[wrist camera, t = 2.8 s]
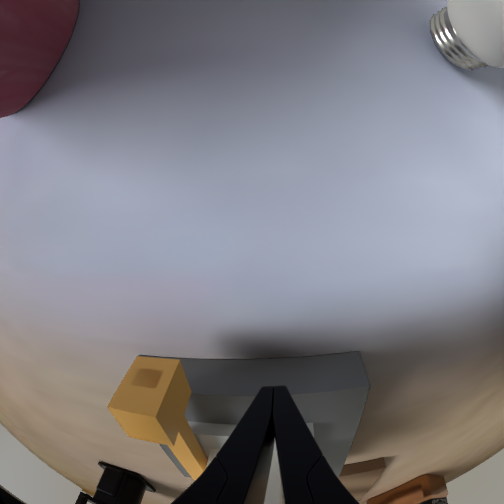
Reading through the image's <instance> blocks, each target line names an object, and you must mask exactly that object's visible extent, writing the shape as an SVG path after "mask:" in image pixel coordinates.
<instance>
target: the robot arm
mask: <svg viewBox="0 0 504 504" xmlns="http://www.w3.org/2000/svg"><path fill="white" fill-rule="evenodd" d="M275 442H276V450H277V457H278V464H279V472H280V479H281V486H282V493H283V501H284V504H359V503H358V501H357V500H356V499H355V498H354V497H353V496H352V495H351V493H350V492H349V491H348V490H347V489H346V487H345V486H344V485H343V484H342V482H341V481H340V480H339V479H338V477H337V476H336V475H335V473H334V471H333V470H332V468H331V467H330V465H329V463H328V462H327V460H326V458H325V456H323V453H322V451H321V450H320V448H319V446H318V444H317V442H316V441H315V439H314V437H313V435H312V433H311V431H310V430H309V428H308V426H307V424H306V422H305V420H304V419H303V417H302V415H301V413H300V411H299V409H298V407H297V406H296V404H295V402H294V400H293V398H292V396H291V394H290V392H289V390H288V389H287V387H286V386H285V385H279V386H274V387H273V386H262V387H261V388H260V390H259V391H258V393H257V395H256V396H255V398H254V399H253V401H252V403H251V404H250V406H249V407H248V409H247V410H246V412H245V413H244V415H243V417H242V418H241V420H240V421H239V423H238V424H237V426H236V427H235V429H234V430H233V432H232V433H231V434H230V436H229V437H228V439H227V440H226V442H225V443H224V445H223V446H222V447H221V449H220V450H219V452H218V453H217V454H216V457H214V458H213V460H212V461H211V463H210V464H209V465H208V467H207V468H206V469H205V470H204V471H203V473H202V474H201V475H200V476H199V477H198V478H197V479H196V480H195V481H194V482H193V483H192V484H191V485H190V486H189V487H188V488H187V489H186V490H185V491H184V492H183V493H182V494H181V495H180V496H179V497H178V498H177V499H175V500H174V501H173V502H172V503H171V504H264V500H265V495H266V490H267V484H268V479H269V473H270V468H271V462H272V456H273V450H274V443H275ZM98 465H100V466H101V467H102V468H103V469H104V472H103V474H102V476H101V479H100V481H99V483H98V485H97V490H96V492H95V495H94V497H91V496H90V495H88V494H84V493H83V492H80V495H79V497H78V499H77V501H76V503H75V504H86V503H87V501H88V502H90V503H92V504H141V501H142V498H143V495H144V493H145V490H147V491H150V492H155V491H156V490H155V489H154V488H153V487H152V486H150V485H149V484H148V483H147V482H146V481H145V480H144V479H143V478H142V477H140V476H139V475H138V474H135V473H132V472H129V471H126V470H123V469H119V468H116V467H114V466H111V465H108V464H105V463H102V462H100V461H99V462H98ZM0 504H26V503H25V502H23V501H22V500H20V499H19V498H17V497H16V496H14V495H13V494H12V493H10V492H9V491H8V490H6V489H5V488H4V487H2V486H1V485H0Z"/></svg>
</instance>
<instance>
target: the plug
mask: <svg viewBox="0 0 504 504" xmlns="http://www.w3.org/2000/svg"><path fill="white" fill-rule="evenodd" d="M187 422H188V424H189V426H190V428H191V430H192V432H193V433H194V435H195V437H196V439H197V441H198V443H199V445H200V447H201V448H202V450H203V452H204V454H205V455H206V457H207V459H208V462H207V466H206V468H207V467H208V465H209V464H210V463H211V461H212V460H213V458H214V457H216V454H217V453H218V452H219V450H220V449H221V447H222V446H223V445H224V443H225V442H226V440H227V439H228V437H229V436H230V434H231V433H232V432H233V430H234V429H235V427H236V426H237V425H233V424H215V423H202V422H192V421H187ZM306 424H307V426H308V428H309V430H310V431H311V433H312V435H313V437H314V428H313V423H306ZM264 504H282V486H281V479H280V472H279V464H278V457H277V450H276V442H275V443H274V450H273V456H272V462H271V468H270V473H269V479H268V484H267V490H266V495H265V500H264Z"/></svg>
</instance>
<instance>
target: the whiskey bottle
mask: <svg viewBox="0 0 504 504" xmlns="http://www.w3.org/2000/svg"><path fill="white" fill-rule="evenodd" d="M447 495H448V491H447V487H446V483H445V479H444V477H443V476H436V475H429V474H426V475H423V476H420V477H418V478H416V479H414V480H412V481H410V482H408V483H406V484H404V485H402V486H400V487H398V488H396V489H393V490H391V491H389V492H387V493H384V494H382V495H379V496H377V497H375V498H372V499H369V500H368V501H367V504H448V503H447V498H446V496H447Z"/></svg>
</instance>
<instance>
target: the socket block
mask: <svg viewBox="0 0 504 504" xmlns="http://www.w3.org/2000/svg"><path fill="white" fill-rule="evenodd" d="M139 356H141V357H152V358H164V359H180V361H181V364H182V367H183V370H184V373H185V375H186V378H187V381H188V383H189V386H190V389H191V391H192V393H191V396H190V399H189V402H188V405H187V408H186V411H185V414H184V416H185V418H186V420H187V421H192V422H202V423H215V424H233V425H237V424H238V423H239V421H240V420H241V418H242V417H243V415H244V413H245V412H246V410H247V409H248V407H249V406H250V404H251V403H252V401H253V399H254V398H255V396H256V395H257V393H258V391H259V390H260V388H261V387H262V386H273V387H274V386H279V385H285V386H286V387H287V389H288V390H289V392H290V394H291V396H292V398H293V400H294V402H295V404H296V406H297V407H298V409H299V411H300V413H301V415H302V417H303V419H304V420H305V422H306V423H313V428H314V439H315V441H316V442H317V444H318V446H319V448H320V450H321V451H322V453H323V456H325V458H326V460H327V462H328V463H329V465H330V467H331V468H332V470H333V471H334V473H335V475H336V476H337V477H339V475H340V473H341V470H342V468H343V465H344V463H345V461H346V458H347V456H348V453H349V450H350V448H351V445H352V442H353V440H354V437H355V434H356V431H357V428H358V425H359V422H360V419H361V416H362V413H363V410H364V406H365V403H366V400H367V396H368V393H369V389H370V383H369V380H368V377H367V374H366V371H365V368H364V365H363V362H362V359H361V356H360V353H359V351H356V352H348V353H339V354H330V355H320V356H308V357H295V358H277V359H243V360H219V359H186V358H168V357H155V356H143V355H139ZM160 446H161V447H162V449H163V450H164V451H165V453H166V454H167V455H168V456H169V458H170V459H171V460H172V462H173V463H174V464H175V465H176V467H177V468H178V469H179V470H180V471H181V473H182V474H183V475H184V476H186V477H191V476H190V475H189V473H188V472H187V471H186V470H185V468H184V467H183V466H182V464H181V463H180V462H179V460H178V459H177V458H176V456H175V455H174V454H173V452H172V451H171V449H170V448H169V447H168V445H164V444H160Z"/></svg>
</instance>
